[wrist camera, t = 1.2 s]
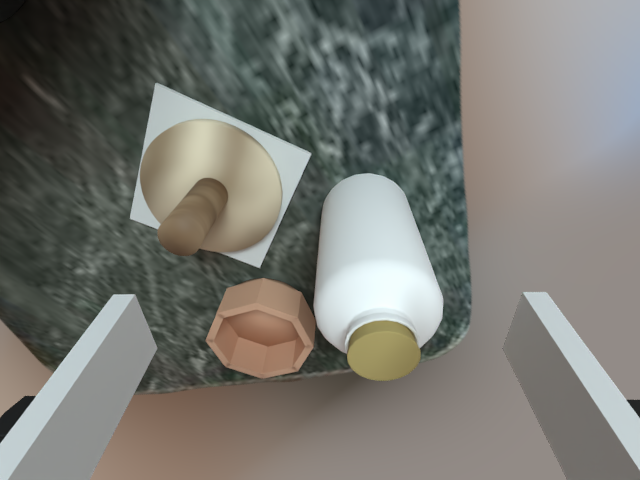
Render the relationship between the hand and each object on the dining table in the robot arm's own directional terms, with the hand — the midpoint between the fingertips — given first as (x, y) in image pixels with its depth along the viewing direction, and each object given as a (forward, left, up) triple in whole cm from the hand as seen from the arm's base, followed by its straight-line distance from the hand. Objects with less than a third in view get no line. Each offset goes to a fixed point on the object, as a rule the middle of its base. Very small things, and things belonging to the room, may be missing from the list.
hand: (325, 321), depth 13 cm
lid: (-8, -9, -22) cm, 25 cm away
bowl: (+2, -22, -22) cm, 31 cm away
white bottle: (+6, -5, -23) cm, 24 cm away
